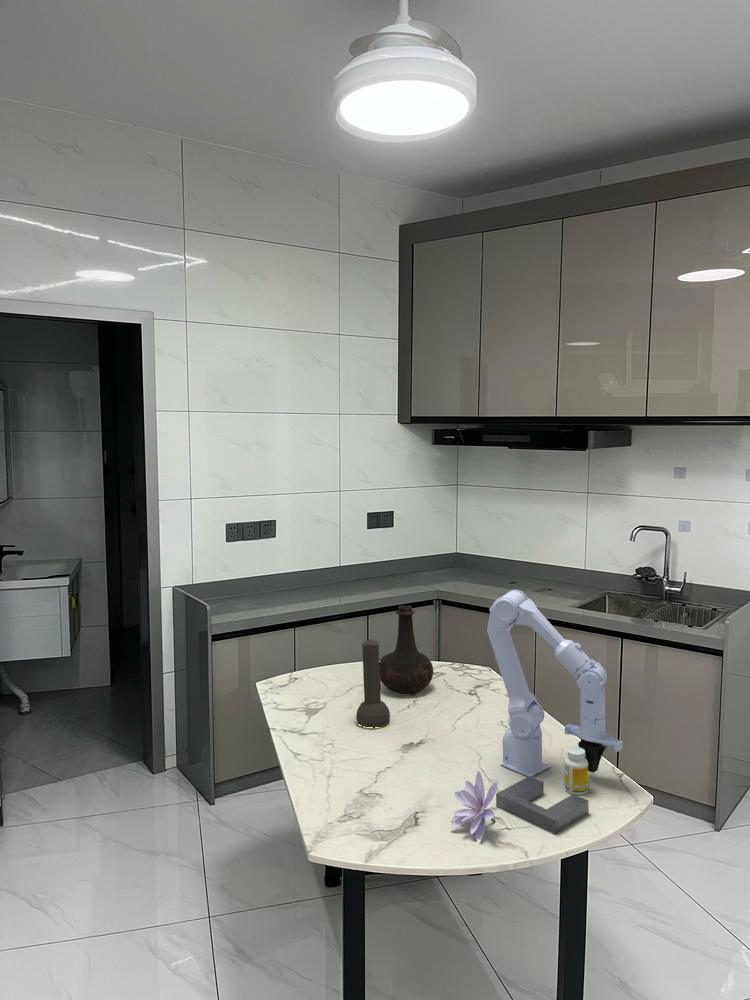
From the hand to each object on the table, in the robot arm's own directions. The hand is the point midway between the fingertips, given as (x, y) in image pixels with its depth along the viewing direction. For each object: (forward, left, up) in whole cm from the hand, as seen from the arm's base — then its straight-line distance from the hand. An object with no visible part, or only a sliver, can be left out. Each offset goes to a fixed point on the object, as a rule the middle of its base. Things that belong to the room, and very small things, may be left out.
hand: (593, 770), depth 179 cm
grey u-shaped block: (0, -20, -2) cm, 20 cm away
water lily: (-6, -36, -3) cm, 36 cm away
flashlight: (-64, -15, -3) cm, 66 cm away
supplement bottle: (0, -7, -3) cm, 7 cm away
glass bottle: (-77, +10, -3) cm, 78 cm away
